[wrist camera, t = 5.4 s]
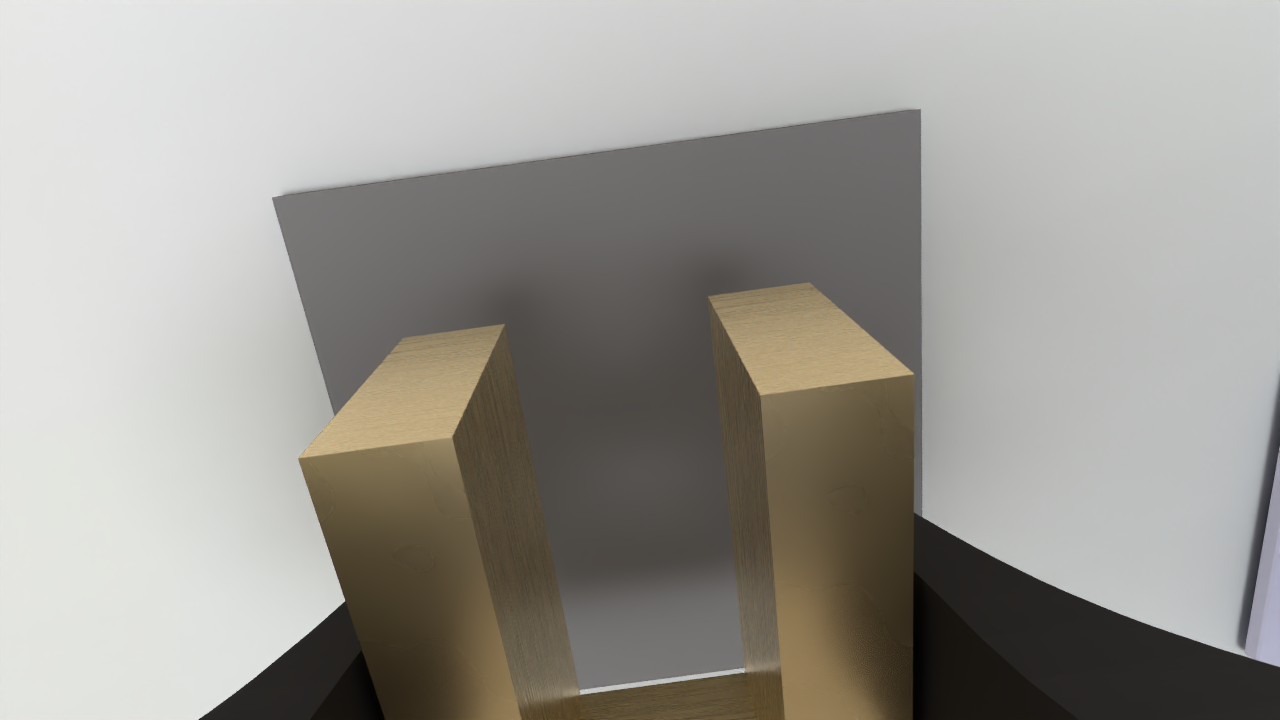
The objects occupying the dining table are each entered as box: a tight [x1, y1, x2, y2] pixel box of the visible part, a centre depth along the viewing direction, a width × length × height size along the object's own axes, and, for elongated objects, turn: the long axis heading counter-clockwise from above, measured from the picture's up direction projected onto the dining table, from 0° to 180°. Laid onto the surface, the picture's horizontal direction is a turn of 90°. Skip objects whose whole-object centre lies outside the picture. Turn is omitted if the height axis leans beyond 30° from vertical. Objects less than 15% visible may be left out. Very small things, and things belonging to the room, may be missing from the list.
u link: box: [298, 282, 915, 720], centre depth 9 cm, size 8×6×4 cm
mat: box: [272, 109, 922, 690], centre depth 15 cm, size 12×12×1 cm
